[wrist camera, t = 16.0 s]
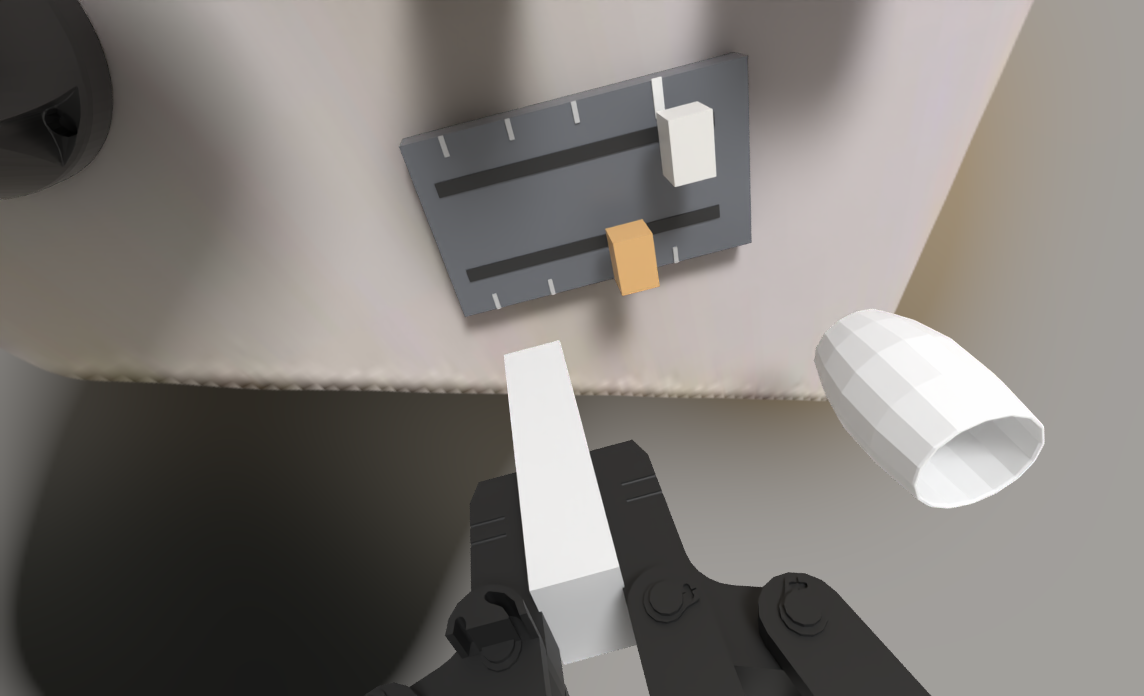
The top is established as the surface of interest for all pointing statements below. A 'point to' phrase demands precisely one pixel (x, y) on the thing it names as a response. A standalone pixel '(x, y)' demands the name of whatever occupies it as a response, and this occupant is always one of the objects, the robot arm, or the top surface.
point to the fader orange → (633, 257)
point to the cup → (925, 408)
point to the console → (580, 184)
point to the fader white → (687, 143)
